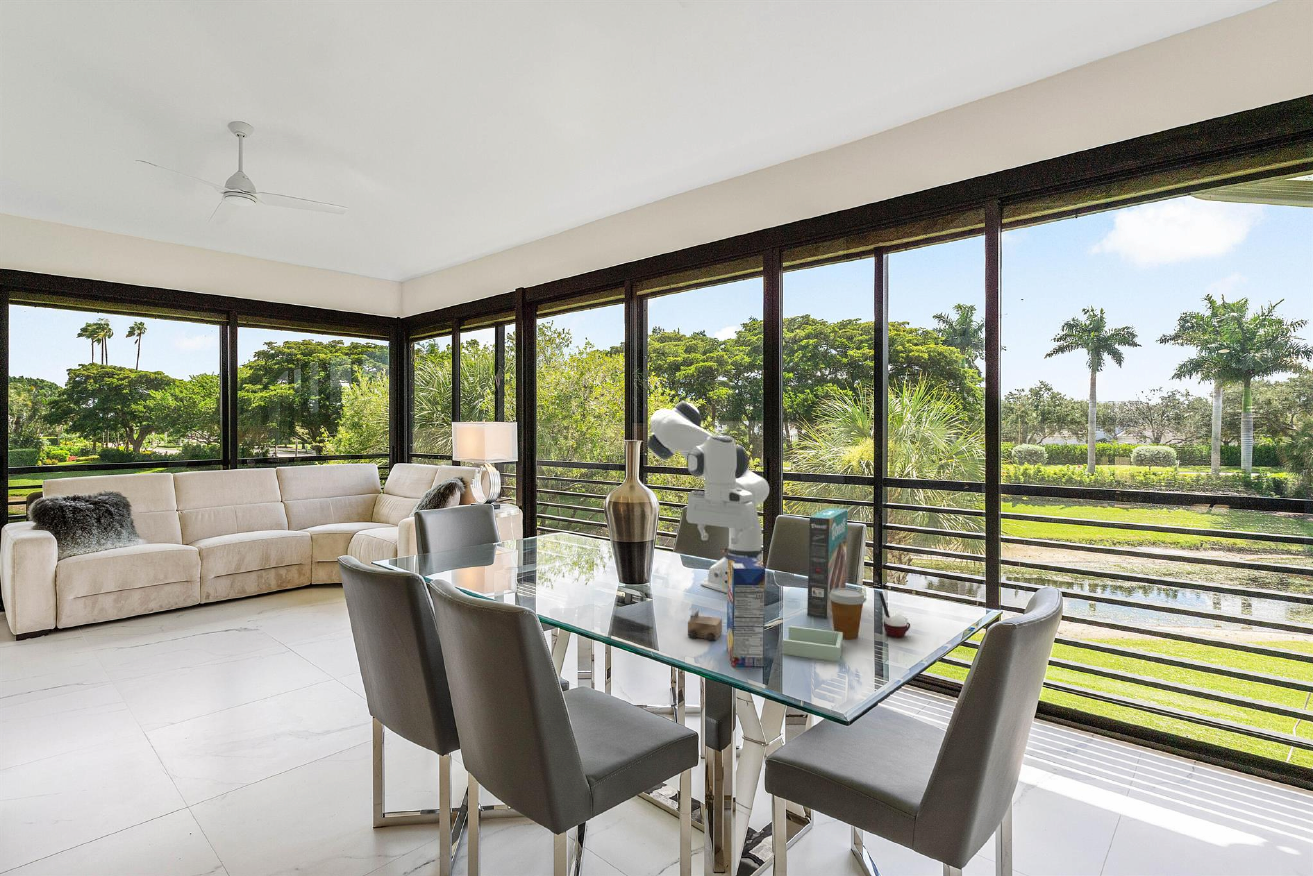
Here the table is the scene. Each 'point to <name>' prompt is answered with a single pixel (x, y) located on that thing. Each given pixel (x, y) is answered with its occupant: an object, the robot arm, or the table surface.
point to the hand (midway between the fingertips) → (719, 541)
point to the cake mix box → (826, 559)
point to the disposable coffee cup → (846, 611)
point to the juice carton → (745, 612)
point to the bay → (813, 643)
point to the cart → (704, 627)
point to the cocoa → (894, 621)
